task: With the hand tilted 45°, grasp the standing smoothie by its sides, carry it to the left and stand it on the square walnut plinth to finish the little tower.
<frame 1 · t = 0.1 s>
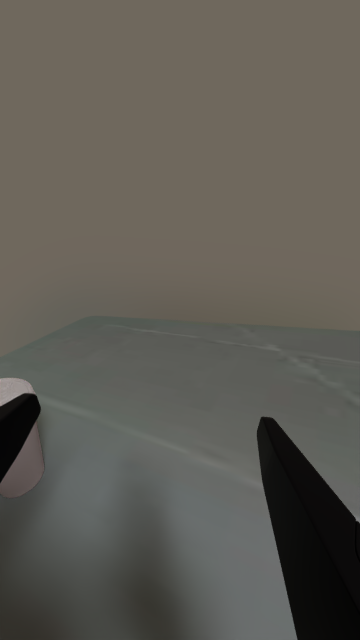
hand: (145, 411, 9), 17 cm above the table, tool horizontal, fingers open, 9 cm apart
smoothie: (23, 477, 22), on the table
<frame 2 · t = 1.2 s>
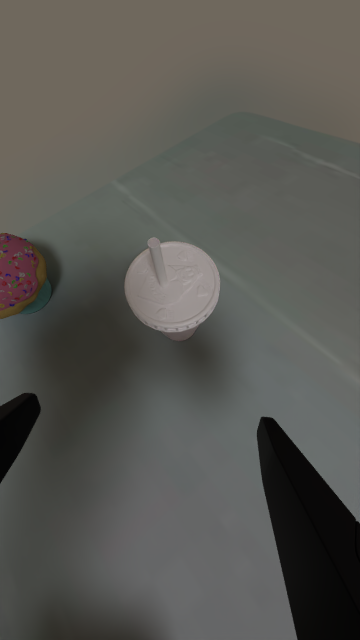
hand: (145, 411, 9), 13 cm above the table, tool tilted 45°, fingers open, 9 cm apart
smoothie: (179, 324, 24), on the table
cupcake: (31, 295, 26), on the table
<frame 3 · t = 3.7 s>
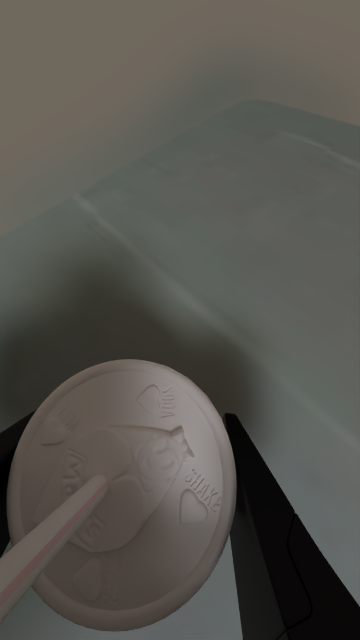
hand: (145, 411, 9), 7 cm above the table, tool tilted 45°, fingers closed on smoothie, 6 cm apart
smoothie: (162, 424, 16), on the table, touching gripper
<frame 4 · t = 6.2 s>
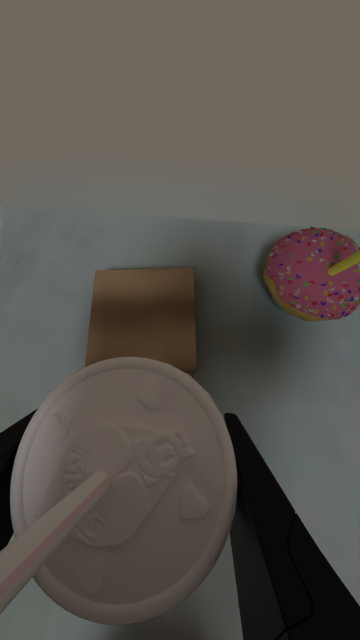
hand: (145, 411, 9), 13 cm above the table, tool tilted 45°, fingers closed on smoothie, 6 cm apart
smoothie: (164, 423, 16), point 6 cm above the table, touching gripper
plinth: (147, 323, 24), on the table
cupcake: (291, 294, 24), on the table
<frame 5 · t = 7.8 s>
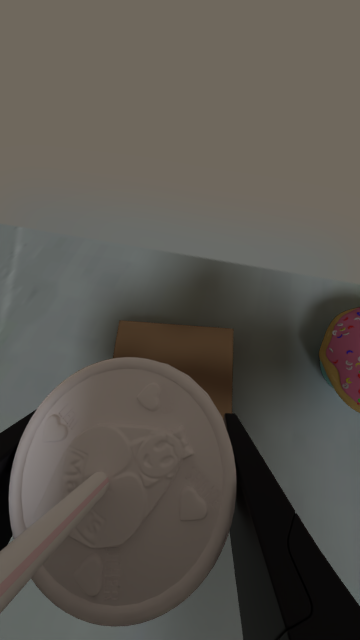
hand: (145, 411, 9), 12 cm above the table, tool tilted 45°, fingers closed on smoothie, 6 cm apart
smoothie: (164, 423, 16), point 5 cm above the table, touching gripper
plinth: (172, 384, 21), on the table
cupcake: (343, 366, 21), on the table
when the fingers open (11 cm above the table, at t = 8.9 s): smoothie stays where it is, resting on plinth.
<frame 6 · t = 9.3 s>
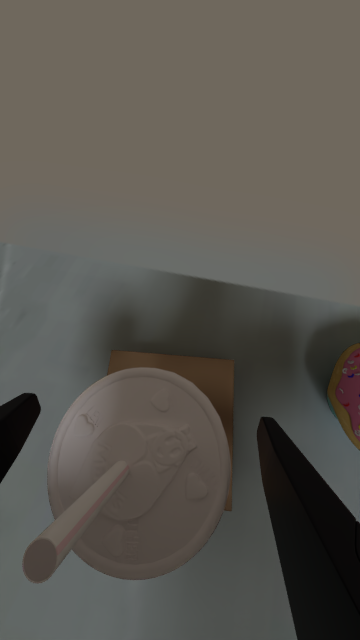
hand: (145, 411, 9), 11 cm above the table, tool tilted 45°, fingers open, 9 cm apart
smoothie: (167, 422, 17), point 2 cm above the table, touching plinth
plinth: (168, 418, 19), on the table
cupcake: (352, 399, 19), on the table
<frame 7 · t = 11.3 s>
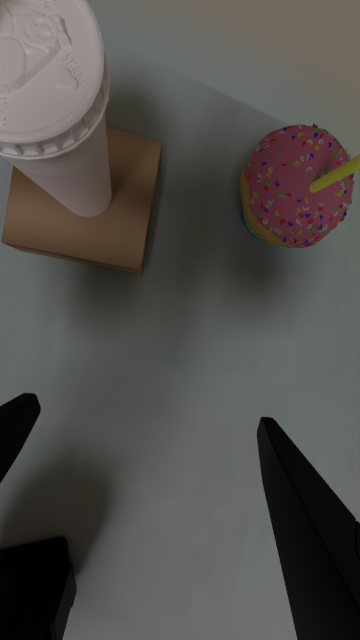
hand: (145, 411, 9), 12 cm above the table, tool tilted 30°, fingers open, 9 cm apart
smoothie: (86, 193, 17), point 2 cm above the table, touching plinth
plinth: (92, 205, 19), on the table
cupcake: (264, 214, 22), on the table
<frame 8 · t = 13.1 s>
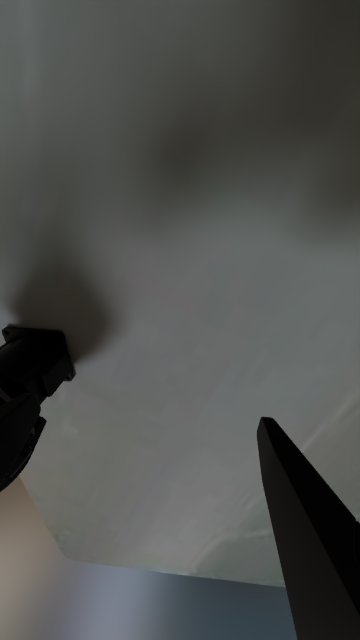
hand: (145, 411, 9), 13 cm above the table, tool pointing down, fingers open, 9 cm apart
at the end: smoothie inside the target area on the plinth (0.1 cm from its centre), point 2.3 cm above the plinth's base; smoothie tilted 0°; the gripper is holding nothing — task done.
